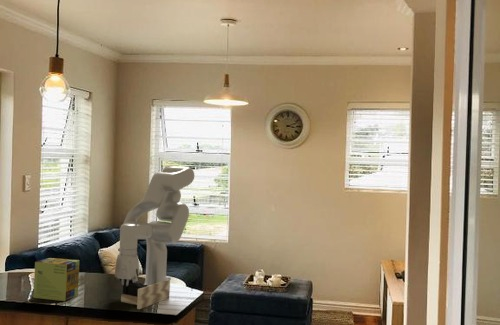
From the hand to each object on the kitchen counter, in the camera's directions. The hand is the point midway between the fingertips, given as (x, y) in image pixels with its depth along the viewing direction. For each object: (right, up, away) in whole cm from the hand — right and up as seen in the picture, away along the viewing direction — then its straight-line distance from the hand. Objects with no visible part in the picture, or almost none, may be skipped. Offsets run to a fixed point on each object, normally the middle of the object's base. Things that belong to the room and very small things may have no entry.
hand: (126, 294), depth 224 cm
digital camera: (+7, -2, -4) cm, 9 cm away
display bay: (+7, -2, -3) cm, 8 cm away
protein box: (-30, -1, -2) cm, 30 cm away
